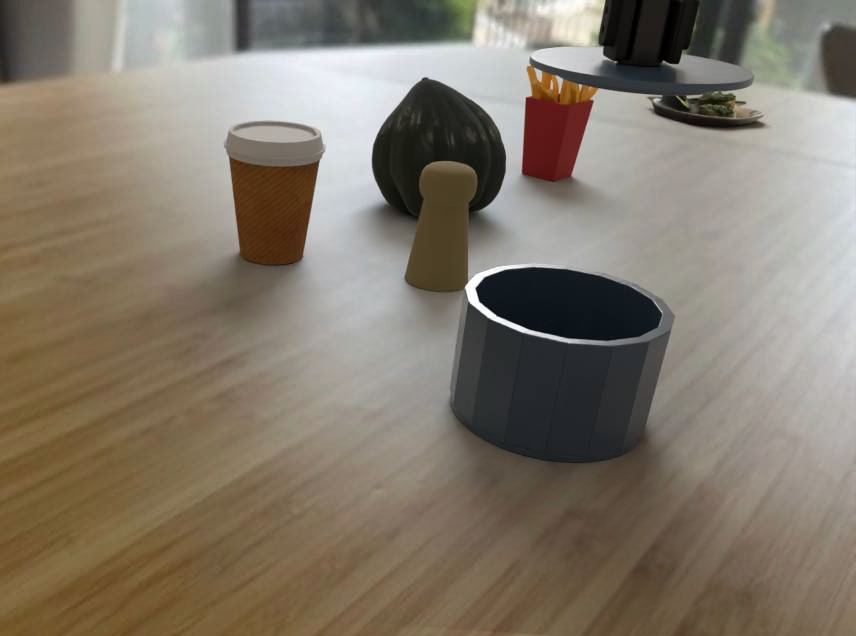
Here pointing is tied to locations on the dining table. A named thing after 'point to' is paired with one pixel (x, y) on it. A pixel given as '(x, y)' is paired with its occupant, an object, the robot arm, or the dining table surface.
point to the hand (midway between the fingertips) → (640, 56)
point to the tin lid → (643, 62)
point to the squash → (436, 145)
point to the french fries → (554, 126)
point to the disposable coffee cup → (273, 187)
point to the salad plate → (705, 109)
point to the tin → (558, 360)
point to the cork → (442, 228)
